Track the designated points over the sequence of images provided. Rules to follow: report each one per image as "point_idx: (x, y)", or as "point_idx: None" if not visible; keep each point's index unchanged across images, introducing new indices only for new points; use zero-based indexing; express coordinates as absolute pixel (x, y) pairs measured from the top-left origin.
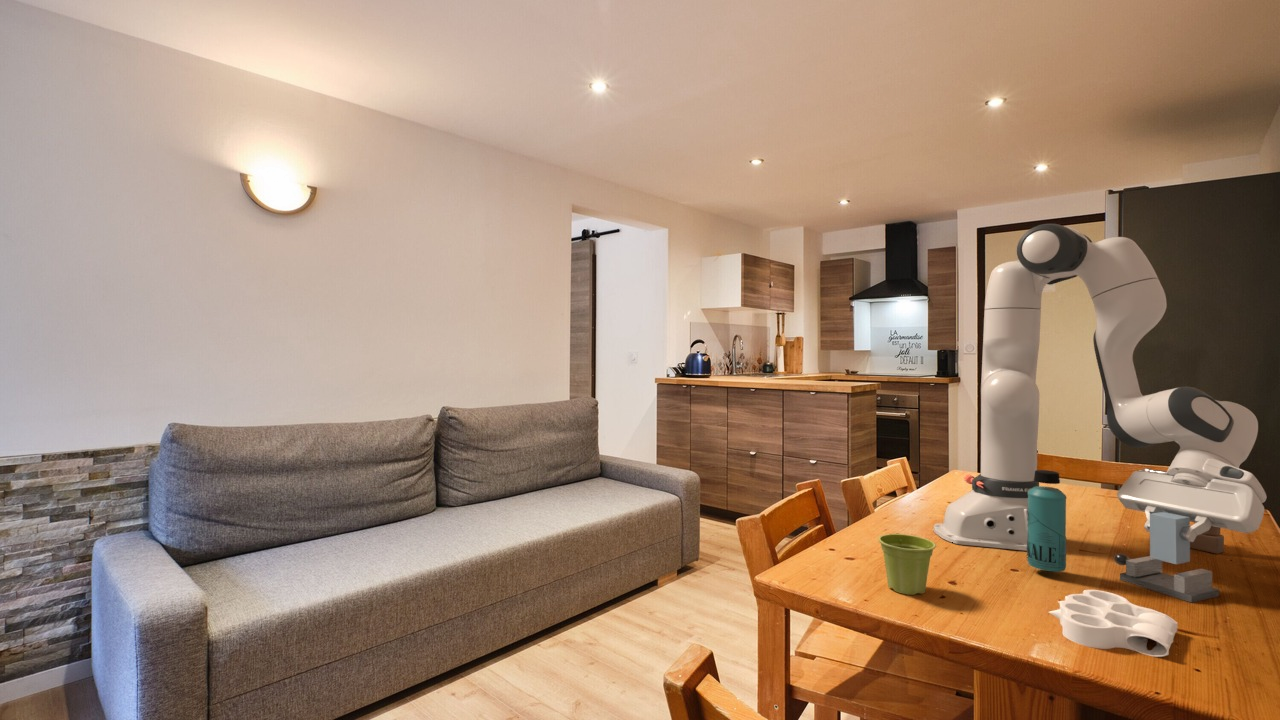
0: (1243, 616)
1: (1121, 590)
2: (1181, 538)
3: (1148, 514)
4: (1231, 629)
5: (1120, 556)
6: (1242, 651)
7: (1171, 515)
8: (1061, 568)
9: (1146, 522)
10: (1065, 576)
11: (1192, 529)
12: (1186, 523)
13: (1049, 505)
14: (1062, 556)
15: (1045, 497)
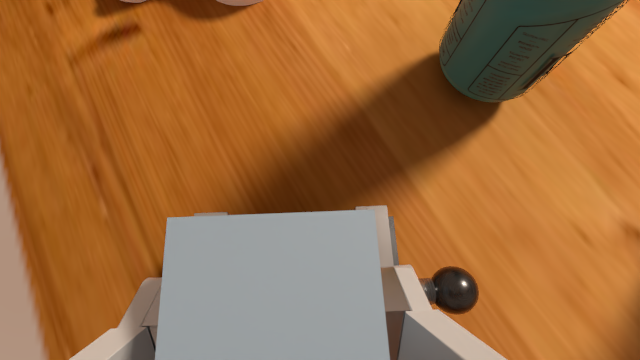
0: (83, 260)
1: (326, 141)
2: None
3: (462, 345)
4: (69, 134)
5: (451, 272)
6: (17, 37)
7: (268, 350)
8: (440, 52)
9: (417, 285)
10: (446, 103)
11: (119, 324)
12: None
13: None
14: (456, 30)
15: None
